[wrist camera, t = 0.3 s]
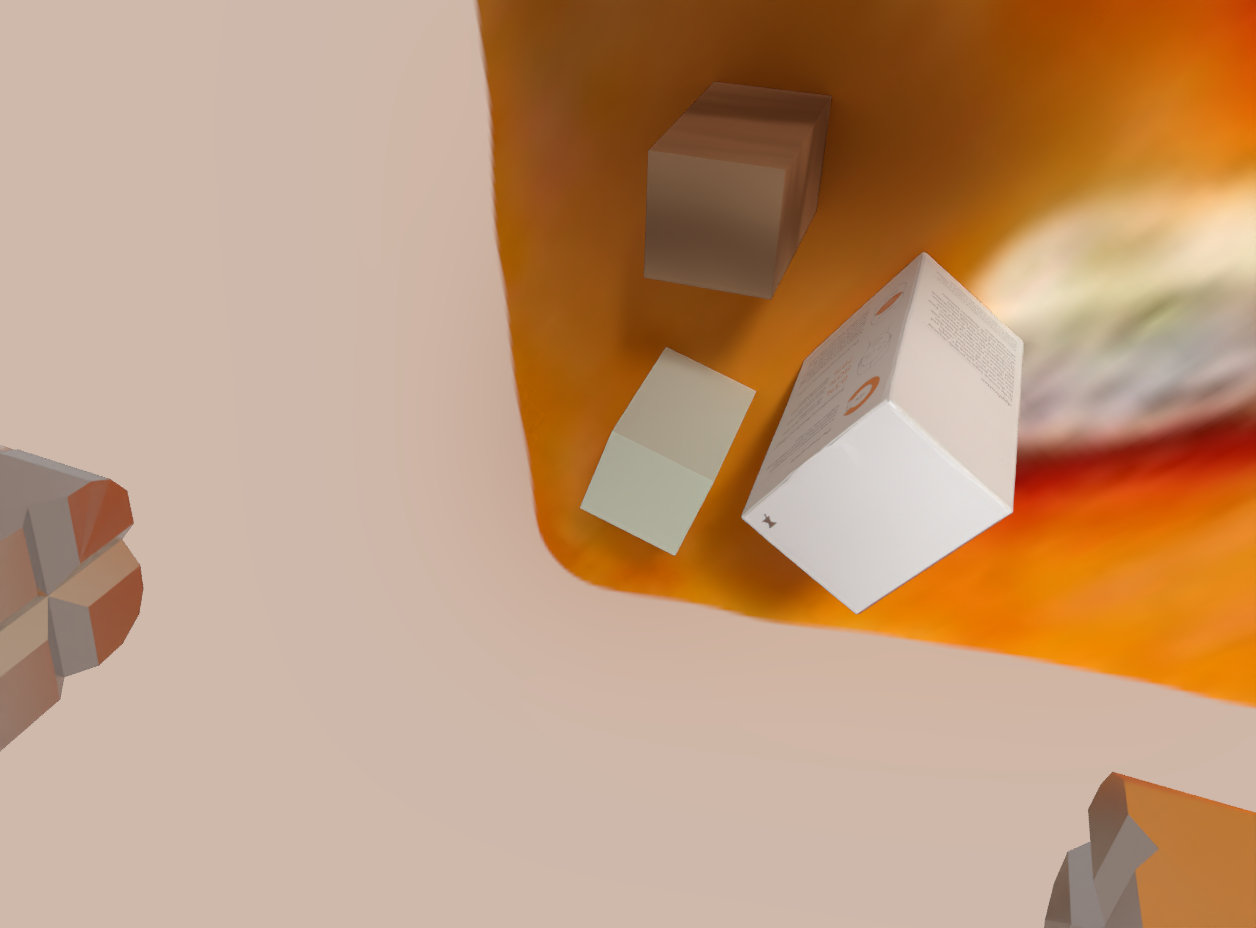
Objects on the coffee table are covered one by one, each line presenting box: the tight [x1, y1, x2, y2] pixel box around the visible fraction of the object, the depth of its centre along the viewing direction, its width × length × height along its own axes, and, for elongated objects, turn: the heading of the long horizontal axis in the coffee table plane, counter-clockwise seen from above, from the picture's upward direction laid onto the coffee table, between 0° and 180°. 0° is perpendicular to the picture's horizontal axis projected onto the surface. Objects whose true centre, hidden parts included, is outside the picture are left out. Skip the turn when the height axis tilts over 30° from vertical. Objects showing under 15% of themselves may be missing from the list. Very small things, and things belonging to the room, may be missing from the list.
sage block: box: [580, 347, 756, 556], centre depth 52 cm, size 5×5×8 cm
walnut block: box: [644, 81, 832, 299], centre depth 43 cm, size 5×5×9 cm
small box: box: [741, 252, 1024, 614], centre depth 44 cm, size 8×6×13 cm
